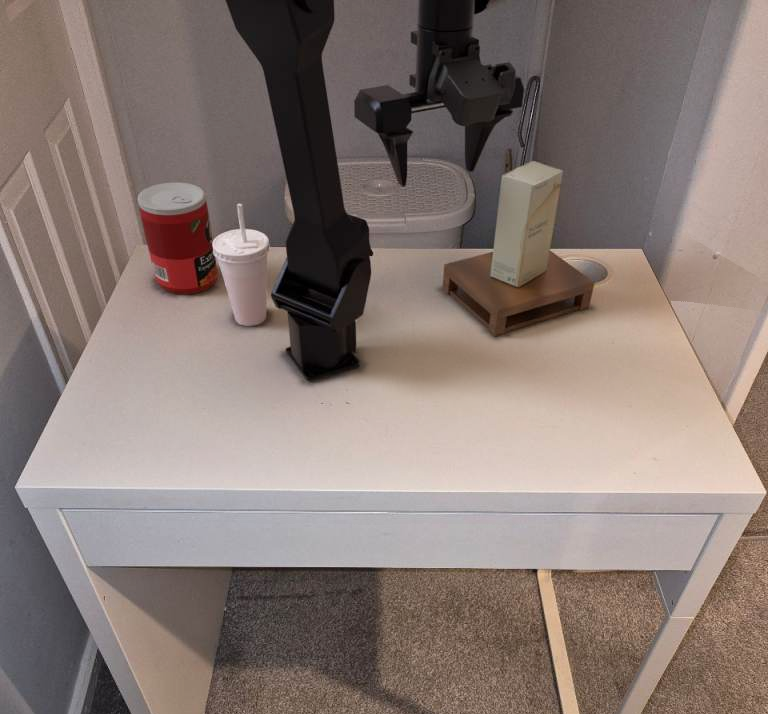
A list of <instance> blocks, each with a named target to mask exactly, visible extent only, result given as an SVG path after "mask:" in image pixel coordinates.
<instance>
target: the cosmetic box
mask: <svg viewBox="0 0 768 714" xmlns="http://www.w3.org/2000/svg"><path fill="white" fill-rule="evenodd" d="M563 174H564V170H562V169H561V168H557V167H554V166H550V165H548V164H545V163H542V162H538V161H535V160H531V161H529V162H527V163H524V164H523V165H520V166H518V167H515V168H514V169H512V170H510V171H508V172H506V173H503V174H502V175H501V182H500V188H499V189H500V191H499V197H498V206H497V214H496V215H497V216H496V224H495V233H494V241H493V251H492V252H493V257H492V266H491V277H494V278H496V279H499V280H501V281H503V282H506V283H508V284H510V285H513V286H516V287H520V286H522V285H523V284H525V283H527V282H528V281H530V280H532V279H533V278H535V277H537V276H538V275H540V274H542V273H543V272H545V271H546V269H547V263H548V258H549V252H550V251H551V246H552V240H553V234H554V228H555V222H556V216H557V211H558V204H559V197H560V191H561V186H562V181H563V180H562V179H563Z"/></svg>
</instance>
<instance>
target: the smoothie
mask: <svg viewBox="0 0 768 714" xmlns="http://www.w3.org/2000/svg"><path fill="white" fill-rule="evenodd" d="M236 208H237V217H238V223H239V228H237V229H231V230H227V231H225V232H222V233H220V234H218V235H217V236H216V237H215V238H214V239H213V243H212V246H213V254H214V256H215V258H216V259H217V261H218V265H219V269H220V271H221V274H222V279H223V282H224V285H225V288H226V292H227V296H228V298H229V303H230V306H231V309H232V312H233V313H232V314H233V317H234V319H235V321H236V323H237V324H239V325H242V326H246V327H253V326H258V325H261V324H262V323H264V322H265V321H266V319H267V293H268V292H267V289H268V254H269V252H270V251H271V245H270V240H269V237H268V236H267V235H266V234H265V233H264V232H262V231H259V230H255V229H251V228H246V224H245V216H244V208H243V204H242V203H237V204H236Z"/></svg>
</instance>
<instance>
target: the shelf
mask: <svg viewBox="0 0 768 714" xmlns="http://www.w3.org/2000/svg"><path fill="white" fill-rule="evenodd" d="M492 257H493V251H491V252H487V253H482V254H479V255H475V256H471V257H468V258H463V259H460V260H455V261H452V262H449V263H444V264H443V274H442V275H443V277H442V291H443V292H444V293H445V294H447V296H450V297H452V298H453V299H454V300H455V301H456V302H457V303H458V304H460V306H462V307H463V308H464V309H465V310H466V311H467V312H468V313H469V314H471V315H472V316H473V317H474V318H475V319H477V321H478V322H480V323H481V324H482V325H483V326H484V327H485V328H486V329H488V332H489V333H490V334H491V335H492V336H494V337H498V336H501V335H504V334H505V333H508V332H511V331H513V330H514V331H515V330H517V329H520V328H525V327H528V326H530V325H533V324H537V323H540V322H543V321H547V320H550V319H553V318H556V317H560V316H563V315H567V314H569V313H572V312H576V311H582V310H586V309H589V308H590V305H591V300H592V297H593V290H594V287H595V284H596V283H595V281H594V280H592V279H591V278H590V277H588V276H587V275H585V273H583V272H581V271H580V270H578V269H577V268H576V267H574V266H572V265H571V264H570V263H568V262H567V261H566V260H564V259H563V258H562V257H560V256H559V255H557V254H556V253H555V252H553V251H551V250H550V252H549V258H548V263H547V269H546V271H545V272H543V273H542V274H540V275H538V276H537V277H535V278H533V279H532V280H530V281H528V282H527V283H525V284H523V285H522V286H520V287H516V286H513V285H510V284H508V283H506V282H503V281H501V280H499V279H496V278H494V277H491V266H492Z"/></svg>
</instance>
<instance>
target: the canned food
mask: <svg viewBox="0 0 768 714" xmlns="http://www.w3.org/2000/svg"><path fill="white" fill-rule="evenodd" d="M137 205H138V210H139V215H140V219H141V223H142V228H143V232H144V236H145V241H146V244H147V245H146V246H147V249H148V253H149V257H150V261H151V265H152V266H151V267H152V271H153V275H154V278H155V280H156V282H157V284H158V286H159V288H161V289H162V290H164V291H166V292H169V293H171V294H176V295H190V294H197V293H200V292H203V291H206V290H208V289H209V288H211V287H212V286H214V285H215V283H216V282H217V278H218V273H219V272H218V267H217V265H218V264H217V260H216V259H217V258H216V257H215V256H214V254H213V246H212V243H213V240H214V239H213V234H212V227H211V221H210V214H209V209H208V203H207V197H206V194H205V191H204V190H203V189H202V188H201V187H199V186H197V185H195V184H192V183H188V182H187V183H186V182H164V183H158V184H155V185H152V186H149V187H147V188H145V189H143V190H142V191H140V193H139V194H138V196H137Z"/></svg>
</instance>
